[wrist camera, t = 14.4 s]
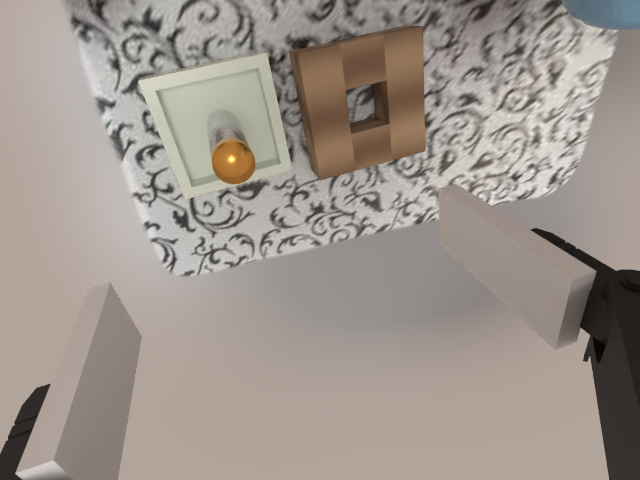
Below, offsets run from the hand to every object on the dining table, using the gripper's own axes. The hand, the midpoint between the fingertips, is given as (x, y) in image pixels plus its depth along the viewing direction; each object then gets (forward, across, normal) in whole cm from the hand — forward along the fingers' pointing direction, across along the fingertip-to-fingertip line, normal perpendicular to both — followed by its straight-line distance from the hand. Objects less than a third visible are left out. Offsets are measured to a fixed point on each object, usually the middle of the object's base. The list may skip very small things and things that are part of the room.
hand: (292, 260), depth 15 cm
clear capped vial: (+26, -1, 0) cm, 26 cm away
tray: (+27, -1, 0) cm, 27 cm away
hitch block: (+27, +13, -1) cm, 30 cm away
